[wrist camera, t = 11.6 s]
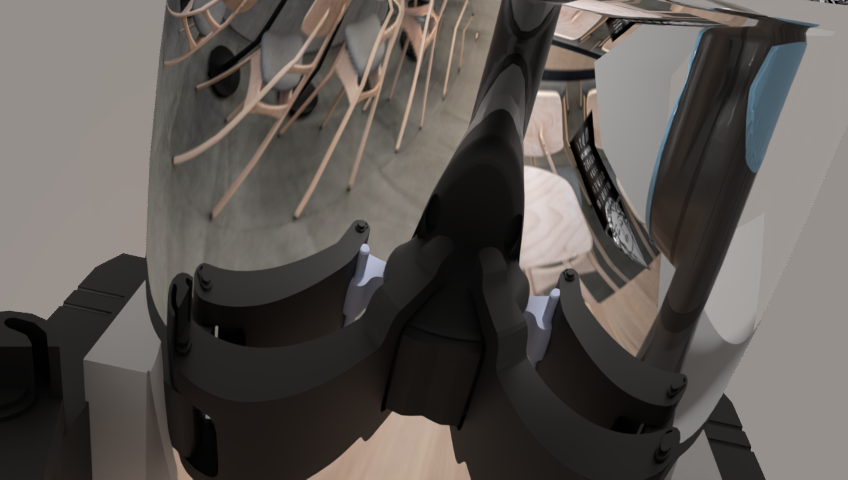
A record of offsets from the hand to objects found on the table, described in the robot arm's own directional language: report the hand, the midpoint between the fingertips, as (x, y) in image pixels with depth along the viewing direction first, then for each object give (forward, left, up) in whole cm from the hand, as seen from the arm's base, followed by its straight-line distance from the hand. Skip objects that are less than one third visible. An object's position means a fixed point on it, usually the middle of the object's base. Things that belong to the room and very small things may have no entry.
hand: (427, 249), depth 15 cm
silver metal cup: (-2, +5, -8) cm, 10 cm away
